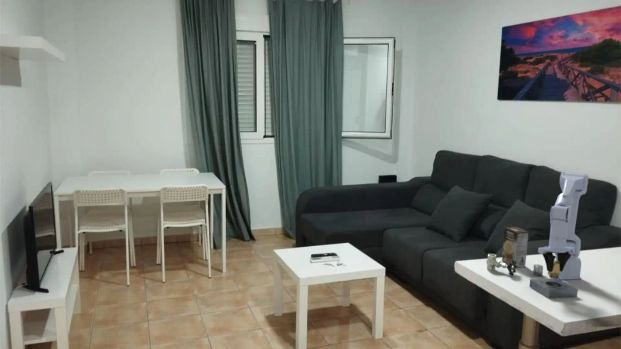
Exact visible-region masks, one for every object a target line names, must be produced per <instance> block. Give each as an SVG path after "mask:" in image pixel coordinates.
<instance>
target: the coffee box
mask: <svg viewBox="0 0 621 349" xmlns="http://www.w3.org/2000/svg"><path fill="white" fill-rule="evenodd" d="M528 241H529V231H527V230H525V229H522V228H520V227H517V226H510V227H504V233H503V243H502V254H501V262H503V263H504V264H506V265H509V264H510V263H513V262H512V260H514V261H516V262H517V264H516V265H517V268H521V267H522V268H523V267H526V261H527V252H528V251H527V250H528ZM513 266H514V265H513Z"/></svg>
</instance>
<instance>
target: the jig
mask: <svg viewBox="0 0 621 349" xmlns="http://www.w3.org/2000/svg"><path fill="white" fill-rule="evenodd" d="M528 287H529V288H531V289H533V290H534V291H536V292H537V293H539V294H541V295H542V296H544V297H545V298H548V299H561V298H577V297H578V293H579V292H578V290H579V289H578V288H577V287H574V286H572V284H569V283H567V282H565V281H564V280H561V279H559V278H558V279H553V278H550V277H548V278H533V279H532V278H531V279H529V286H528Z"/></svg>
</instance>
